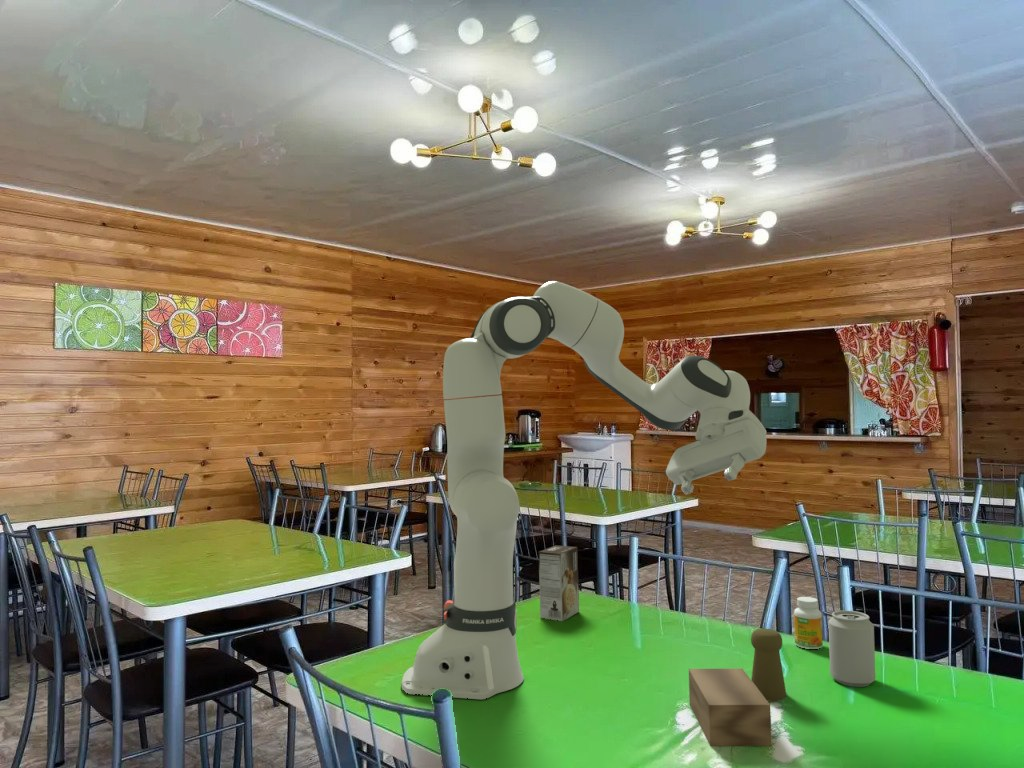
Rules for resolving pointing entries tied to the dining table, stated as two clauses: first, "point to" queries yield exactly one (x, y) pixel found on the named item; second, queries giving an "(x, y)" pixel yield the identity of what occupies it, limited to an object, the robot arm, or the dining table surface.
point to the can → (851, 648)
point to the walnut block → (729, 708)
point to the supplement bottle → (808, 623)
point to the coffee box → (558, 582)
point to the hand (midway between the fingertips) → (707, 484)
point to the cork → (768, 664)
